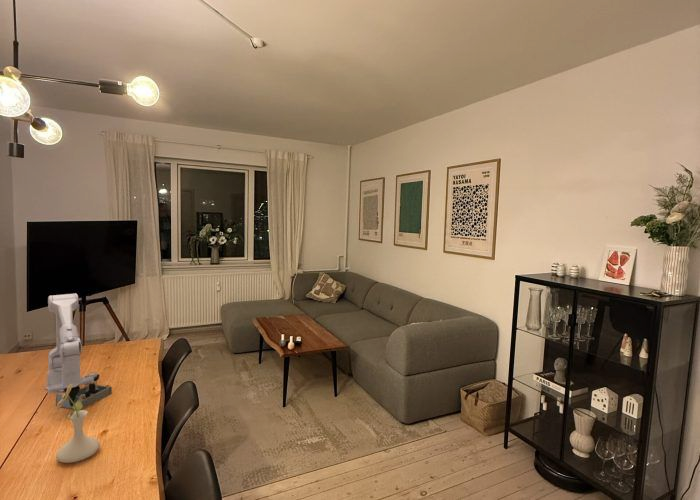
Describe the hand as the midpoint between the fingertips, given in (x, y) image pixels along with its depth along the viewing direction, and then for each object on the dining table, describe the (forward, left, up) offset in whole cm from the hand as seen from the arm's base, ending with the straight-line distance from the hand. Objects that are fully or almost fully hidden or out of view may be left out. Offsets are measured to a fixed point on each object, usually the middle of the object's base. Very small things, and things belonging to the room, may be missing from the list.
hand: (71, 405), depth 143 cm
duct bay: (-4, +9, -3) cm, 10 cm away
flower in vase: (+27, -21, -3) cm, 35 cm away
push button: (-4, +11, -3) cm, 12 cm away
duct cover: (-4, +2, -2) cm, 5 cm away
